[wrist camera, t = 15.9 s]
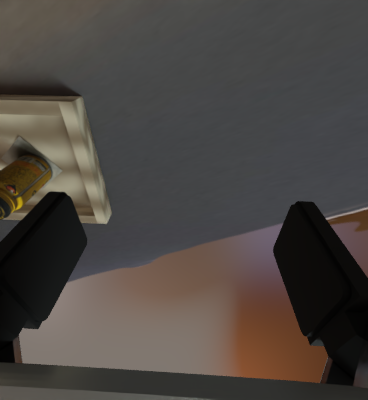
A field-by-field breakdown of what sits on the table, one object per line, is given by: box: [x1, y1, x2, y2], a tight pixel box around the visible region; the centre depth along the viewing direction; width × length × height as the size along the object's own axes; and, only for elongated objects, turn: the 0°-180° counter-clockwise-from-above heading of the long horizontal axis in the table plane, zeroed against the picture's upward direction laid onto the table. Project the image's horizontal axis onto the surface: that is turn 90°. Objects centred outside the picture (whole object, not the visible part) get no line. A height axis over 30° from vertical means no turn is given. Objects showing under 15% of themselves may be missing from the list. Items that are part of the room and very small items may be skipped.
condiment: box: [0, 136, 62, 220], centre depth 35 cm, size 7×8×12 cm
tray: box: [0, 94, 112, 224], centre depth 39 cm, size 24×24×4 cm
